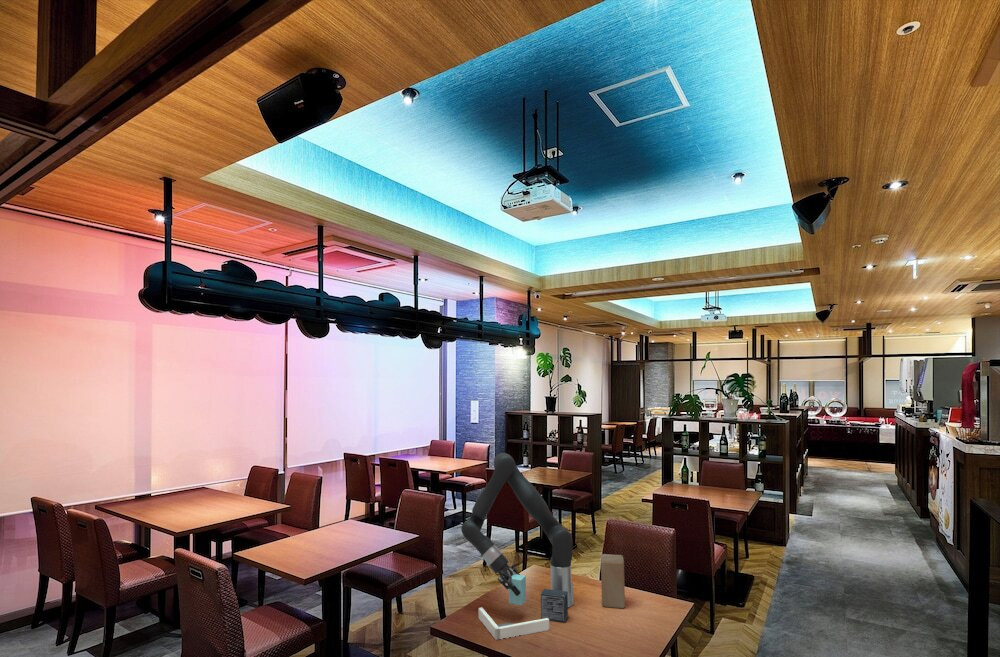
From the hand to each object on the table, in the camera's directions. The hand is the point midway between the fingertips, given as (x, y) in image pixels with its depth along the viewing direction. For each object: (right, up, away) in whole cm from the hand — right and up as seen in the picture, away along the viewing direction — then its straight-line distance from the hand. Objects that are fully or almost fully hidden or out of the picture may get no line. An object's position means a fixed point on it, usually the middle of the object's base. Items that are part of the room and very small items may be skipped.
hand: (521, 591), depth 223 cm
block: (+42, -13, +14) cm, 46 cm away
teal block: (-2, -4, 0) cm, 5 cm away
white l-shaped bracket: (-4, -11, -5) cm, 12 cm away
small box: (+14, -12, 0) cm, 18 cm away
